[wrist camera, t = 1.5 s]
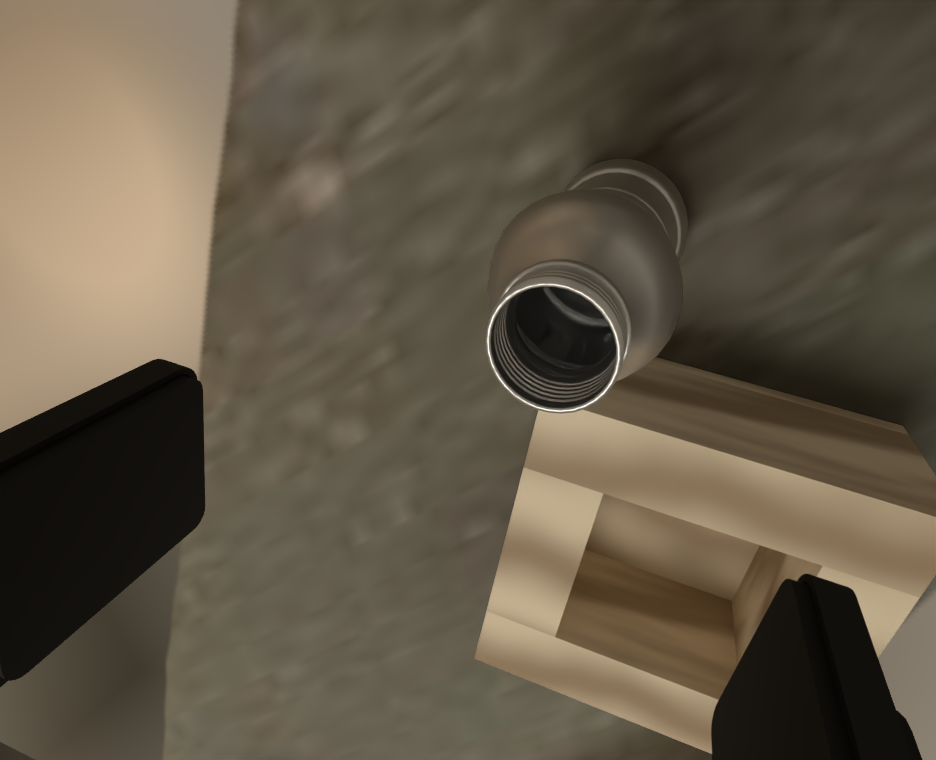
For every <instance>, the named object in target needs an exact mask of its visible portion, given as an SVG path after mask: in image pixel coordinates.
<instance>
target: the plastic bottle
mask: <svg viewBox="0 0 936 760" xmlns="http://www.w3.org/2000/svg"><path fill="white" fill-rule="evenodd" d="M687 235H688V218H687V213H686V207H685V205H684V202H683V200H682V197H681V195H680V193H679V191H678V190H677V188H676V187H675V185H674V184H673V183H672V182H671V181H670V180H669V179H668V178H667V177H666V176H665V175H664V174H663V173H662V172H661V171H659V170H657V169H656V168H654V167H653V166H651V165H648V164H646V163H643V162H641V161H637V160H631V159H610V160H606V161H603V162H599V163H596V164H594V165H592V166H590V167H588V168H586V169H585V170H584V171H582V172H581V173H580V174H578V175H577V176H576V177H575V178H574V179H573V180H572V181H571V183H570V184H569V185H568V186H567V187H566V189H565V191H564V192H561V193H557V194H553V195H549V196H547V197H545V198H543V199H541V200H539V201H537V202H535V203H532V204H531V205H529V206H528V207H527V208H526V209H524V210H523V211H522V212H520V213H519V214H518V215H517V216H516V217H515V218H514V219H513V220H512V221H511V222H510V224H509V225H508V226H507V227H506V228H505V230H504V231H503V233H502V235H501V237H500V238H499V240H498V242H497V244H496V246H495V249H494V252H493V255H492V259H491V262H490V268H489V278H488V298H489V307H490V311H491V315H490V318H489V322H488V325H487V328H486V338H485V344H486V354H487V357H488V360H489V364H490V367H491V369H492V371H493V373H494V375H495V377H496V378H497V379H498V381H499V382H500V383H501V385H502V386H503V388H505V389H506V390H507V391H508V392H509V393H510V394H511V395H512V396H513V397H514V398H516V399H517V400H519V401H520V402H522V403H523V404H525V405H527V406H529V407H532V408H534V409H536V410H540V411H544V412H548V413H559V414H563V413H572V412H577V411H580V410H583V409H586V408H588V407H590V406H592V405H593V404H595V403H597V402H598V401H599V400H600V399H602V398H603V397H604V396H605V395H606V394H607V393H608V392H609V390H610V389H611V388H612V386H613V385H614V384H615V382H616V381H618V380H621V379H623V378H625V377H627V376H629V375H631V374H632V373H634V372H636V371H638V370H639V369H641V368H643V367H644V366H646V365H647V364H648V363H649V362H650V361H651V360H653V359H654V358H655V357H656V356H657V355H658V354H659V353H660V352H661V350H662V349H663V348H664V346H665V345H666V344H667V343H668V341H669V340H670V338H671V336H672V334H673V332H674V329H675V327H676V325H677V323H678V320H679V315H680V311H681V307H682V297H683V282H682V277H681V271H680V265H679V259H680V257H681V255H682V252H683V250H684V248H685V244H686V239H687Z"/></svg>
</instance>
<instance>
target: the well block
mask: <svg viewBox="0 0 936 760" xmlns="http://www.w3.org/2000/svg"><path fill="white" fill-rule="evenodd" d="M803 574H810V575H813V576H816V577H819V578H822V579H825V580H828V581H831V582H834V583H837V584H840V585H843V586H847V587H849V588H851V589H852V590H853V591H854V593H855V594H856V597H857V600H858V602H859V605H860V608H861V611H862V614H863V617H864V620H865V623H866V625H867V628H868V631H869V634H870V637H871V640H872V643H873V646H874V648H875V651H876V654H877V657H879V656H880V654H881V653H882V651H883V650H884V648H885V647H886V646H887V644H888V643H889V641H890V640H891V638H892V637H893V636H894V634H895V633H896V631H897V630H898V628H899V627H900V625H901V624H902V623H903V621H904V620H905V618H906V617H907V615H908V614H909V613H910V611H911V610H912V608H913V607H914V605H915V604H916V602H917V601H918V600H919V598H920V597H921V595H922V594H923V592H924V591H925V589H926V588H927V587H928V585H929V584H930V582H931V581H932V579H933V578H934V576H935V575H936V476H935V474H934V473H933V471H932V470H931V468H930V467H929V465H928V464H927V462H926V460H925V459H924V457H923V456H922V454H921V453H920V451H919V450H918V448H917V447H916V445H915V444H914V442H913V441H912V439H911V437H910V436H909V434H908V433H907V431H906V430H905V428H904V427H903V426H901V425H898V424H894V423H891V422H887V421H884V420H880V419H876V418H873V417H869V416H866V415H862V414H858V413H855V412H851V411H848V410H844V409H841V408H837V407H833V406H830V405H826V404H823V403H819V402H816V401H812V400H808V399H805V398H801V397H798V396H794V395H790V394H787V393H783V392H780V391H776V390H773V389H769V388H765V387H762V386H758V385H755V384H751V383H748V382H744V381H740V380H737V379H733V378H730V377H726V376H722V375H719V374H715V373H712V372H708V371H705V370H701V369H697V368H694V367H690V366H687V365H683V364H680V363H676V362H672V361H669V360H665V359H662V358H658V357H655V358H654V359H653V360H651V361H650V362H649V363H648V364H647V365H646V366H644V367H643V368H641V369H639V370H638V371H636V372H634V373H632V374H631V375H629V376H627V377H625V378H623V379H621V380H618V381H616V382H615V384H614V385H613V386H612V388H611V389H610V390H609V392H608V393H607V394H606V395H605V396H604V397H603V398H602V399H600V400H599V401H598V402H597V403H595V404H593V405H592V406H590V407H588V408H586V409H583V410H580V411H577V412H572V413H563V414H559V413H548V412H544V411H540V410H538V414H537V418H536V422H535V426H534V430H533V433H532V437H531V441H530V445H529V449H528V453H527V457H526V461H525V464H524V468H523V472H522V476H521V480H520V484H519V488H518V492H517V495H516V499H515V503H514V507H513V511H512V515H511V519H510V523H509V526H508V530H507V534H506V538H505V542H504V546H503V550H502V554H501V557H500V561H499V565H498V569H497V573H496V577H495V581H494V585H493V588H492V592H491V596H490V600H489V604H488V608H487V612H486V616H485V619H484V623H483V627H482V631H481V635H480V639H479V643H478V647H477V650H476V654H475V658H474V659H477V660H479V661H481V662H484V663H486V664H489V665H491V666H494V667H496V668H499V669H501V670H504V671H506V672H509V673H511V674H514V675H516V676H519V677H521V678H524V679H526V680H529V681H531V682H534V683H536V684H539V685H541V686H544V687H546V688H549V689H551V690H554V691H556V692H559V693H561V694H564V695H566V696H569V697H571V698H574V699H576V700H579V701H581V702H584V703H586V704H589V705H591V706H594V707H596V708H599V709H601V710H604V711H606V712H609V713H611V714H614V715H616V716H619V717H621V718H624V719H626V720H629V721H631V722H634V723H636V724H639V725H641V726H644V727H646V728H649V729H651V730H653V731H656V732H658V733H661V734H663V735H666V736H668V737H671V738H673V739H676V740H678V741H681V742H683V743H686V744H688V745H691V746H693V747H696V748H698V749H701V750H703V751H706V752H708V753H711V754H712V740H711V725H712V718H713V713H714V710H715V707H716V704H717V702H718V700H719V699H720V697H721V695H722V693H723V691H724V689H725V687H726V685H727V684H728V682H729V680H730V678H731V676H732V674H733V672H734V671H735V669H736V667H737V665H738V663H739V661H740V659H741V658H742V656H743V654H744V652H745V650H746V648H747V646H748V645H749V643H750V641H751V639H752V637H753V635H754V633H755V632H756V630H757V628H758V626H759V624H760V622H761V620H762V619H763V617H764V615H765V613H766V611H767V609H768V607H769V606H770V604H771V602H772V600H773V598H774V596H775V594H776V593H777V591H778V589H779V587H780V585H781V584H782V582H783V581H784V580H785V579H792V580H795V581H797V580H798V579H799V577H801V576H802V575H803Z"/></svg>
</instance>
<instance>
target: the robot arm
mask: <svg viewBox="0 0 936 760" xmlns="http://www.w3.org/2000/svg"><path fill="white" fill-rule="evenodd" d="M204 511H205V475H204V422H203V388H202V384H201V382H200V381H198V380H197V376H196V374H195V372H194V371H193V370H192V369H190V368H187V367H184V366H181V365H178V364H175V363H172V362H169V361H166V360H163V359H156V360H152V361H150V362H148V363H146V364H144V365H142V366H140V367H137V368H135V369H133V370H131V371H129V372H127V373H125V374H123V375H121V376H119V377H116V378H115V379H112V380H110V381H108V382H106V383H104V384H102V385H100V386H98V387H96V388H93V389H91V390H89V391H87V392H85V393H83V394H81V395H79V396H77V397H75V398H72V399H70V400H68V401H66V402H64V403H62V404H60V405H58V406H56V407H54V408H52V409H50V410H48V411H45V412H43V413H41V414H39V415H37V416H35V417H33V418H31V419H28V420H26V421H24V422H22V423H20V424H18V425H16V426H14V427H12V428H10V429H7V430H5V431H3V432H1V433H0V687H1V686H2V685H4V684H5V683H6V682H7V681H8V680H9V681H10V680H16V679H18V678H20V677H22V676H23V675H25V674H26V673H28V672H29V671H30V670H31V669H32V668H34V667H35V666H36V665H37V664H38V663H39V662H41V661H42V660H43V659H44V658H45V657H46V656H47V655H49V654H50V653H51V652H52V651H53V650H54V649H55V648H57V647H58V646H59V645H60V644H61V643H62V642H64V640H66V639H67V638H68V637H70V636H71V635H72V634H73V633H74V632H75V631H76V630H78V629H79V628H80V627H81V626H82V625H84V624H85V623H86V622H87V621H88V620H89V619H90V618H92V617H93V616H94V615H95V614H96V613H97V612H98V611H100V610H101V609H102V608H103V607H104V606H106V605H107V604H108V603H109V602H110V601H111V600H113V598H115V597H116V596H117V595H118V594H120V593H121V592H122V591H123V590H124V589H125V588H126V587H128V586H129V585H130V584H131V583H132V582H133V581H134V580H136V579H137V578H138V577H139V576H140V575H141V574H143V573H144V572H145V571H146V570H147V569H148V568H150V567H151V566H152V565H153V564H154V563H155V562H157V561H158V560H159V559H160V558H161V557H162V556H164V555H165V554H166V553H167V552H168V551H169V550H171V549H172V548H173V547H174V546H175V545H176V544H178V543H179V542H180V541H181V540H182V539H183V538H185V537H186V536H187V535H188V534H189V533H190V532H192V531H193V530H194V529H195V528H196V527H197V526H198V524H199V523H200V521H201V519H202V517H203V515H204ZM711 740H712V760H922V758H921V755H920V752H919V749H918V747H917V744H916V741H915V738H914V736H913V733H912V730H911V729H910V727H909V724H908V723H907V721H906V719H905V718H904V717H903V716H902V715H901V714H900V713H899V712H898V711H896V709H895V706H894V703H893V701H892V698H891V695H890V692H889V689H888V686H887V683H886V680H885V677H884V674H883V671H882V669H881V666H880V663H879V660H878V657H877V654H876V651H875V648H874V646H873V643H872V640H871V637H870V634H869V631H868V628H867V625H866V623H865V620H864V617H863V614H862V611H861V608H860V605H859V602H858V600H857V597H856V594H855V593H854V591H853V590H852V589H851V588H849V587H847V586H843V585H840V584H837V583H834V582H831V581H828V580H825V579H822V578H819V577H816V576H813V575H810V574H803V575H802V576H801V577H799V579H798V580H797V581H795V580H792V579H785V580H784V581H783V582H782V584H781V585H780V587H779V589H778V591H777V593H776V594H775V596H774V598H773V600H772V602H771V604H770V606H769V607H768V609H767V611H766V613H765V615H764V617H763V619H762V620H761V622H760V624H759V626H758V628H757V630H756V632H755V633H754V635H753V637H752V639H751V641H750V643H749V645H748V646H747V648H746V650H745V652H744V654H743V656H742V658H741V659H740V661H739V663H738V665H737V667H736V669H735V671H734V672H733V674H732V676H731V678H730V680H729V682H728V684H727V685H726V687H725V689H724V691H723V693H722V695H721V697H720V699H719V700H718V702H717V704H716V707H715V710H714V713H713V718H712V725H711ZM0 760H35V759H33V758H31V757H29V756H27V755H25V754H23V753H20V752H19V751H17V750H15V749H13V748H11V747H9V746H7V745H5V744H3V743H1V742H0Z"/></svg>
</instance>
